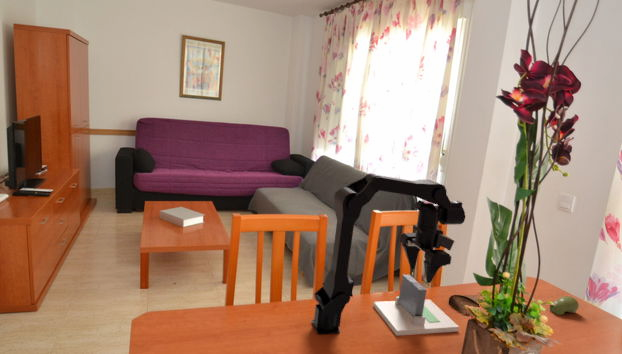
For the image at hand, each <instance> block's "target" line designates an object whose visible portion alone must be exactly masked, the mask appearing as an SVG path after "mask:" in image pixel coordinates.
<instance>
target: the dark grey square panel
mask: <svg viewBox="0 0 622 354" xmlns="http://www.w3.org/2000/svg"><path fill="white" fill-rule="evenodd" d="M399 290H400V291H399V295H398V296H399V302H400V304H401V305H402V306H403V308H404V309H405V310H406V311H407V312H408V313H409V314H410V315H411V316H412V317H413V318H414V317H415V316H422V314H423V308H424V303H425V300H426V297H427V296H426V295H427V289H426V287H424V286H423V284H421V283H420V282H419V281H417V280H416V279H415V278H414V277H413V276H412V275H411V274H402V277H401V284H400V289H399Z"/></svg>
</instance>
